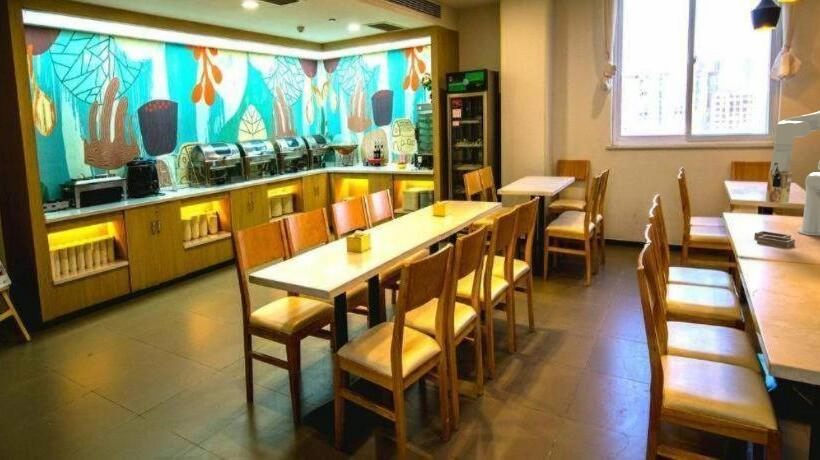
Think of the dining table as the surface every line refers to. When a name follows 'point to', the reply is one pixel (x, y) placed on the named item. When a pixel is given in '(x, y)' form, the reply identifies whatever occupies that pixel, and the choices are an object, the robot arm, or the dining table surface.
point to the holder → (774, 239)
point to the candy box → (779, 189)
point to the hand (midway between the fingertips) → (778, 185)
